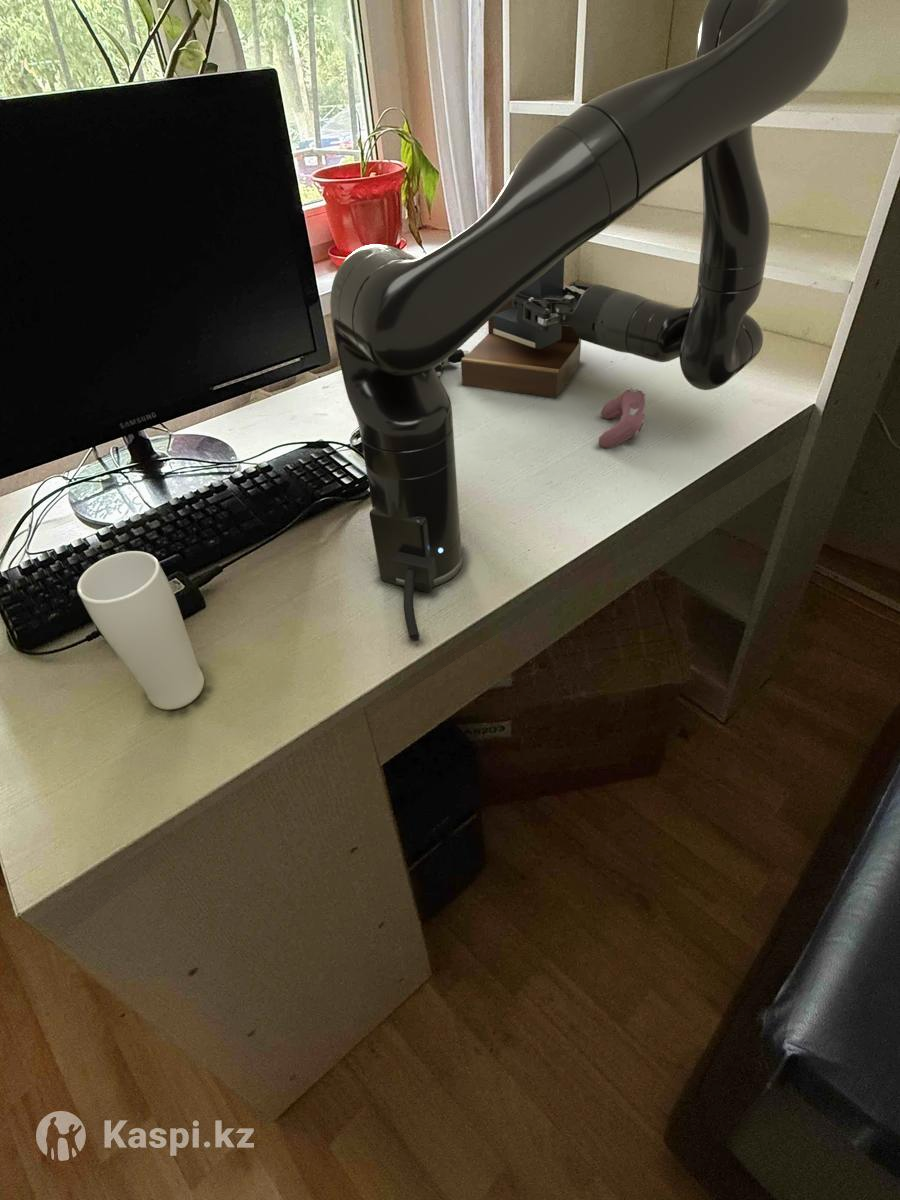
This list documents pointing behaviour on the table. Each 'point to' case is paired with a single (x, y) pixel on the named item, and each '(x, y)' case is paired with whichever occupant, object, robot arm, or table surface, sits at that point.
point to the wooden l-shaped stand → (521, 363)
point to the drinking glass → (143, 626)
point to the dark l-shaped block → (547, 284)
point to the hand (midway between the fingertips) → (526, 294)
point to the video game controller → (623, 417)
